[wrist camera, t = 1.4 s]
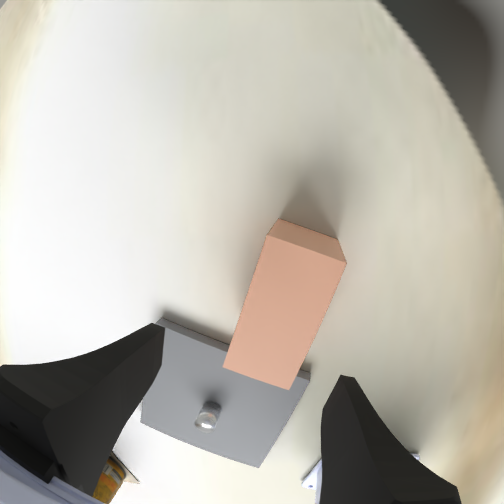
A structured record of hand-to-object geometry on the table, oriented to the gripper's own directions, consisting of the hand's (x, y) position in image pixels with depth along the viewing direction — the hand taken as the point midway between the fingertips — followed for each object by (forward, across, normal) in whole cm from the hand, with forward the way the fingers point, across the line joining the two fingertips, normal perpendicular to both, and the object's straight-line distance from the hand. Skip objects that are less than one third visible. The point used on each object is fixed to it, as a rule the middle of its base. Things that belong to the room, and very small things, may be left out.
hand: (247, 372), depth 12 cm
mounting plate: (+9, +2, +12) cm, 15 cm away
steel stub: (+9, +2, +12) cm, 15 cm away
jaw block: (+10, -1, 0) cm, 10 cm away
